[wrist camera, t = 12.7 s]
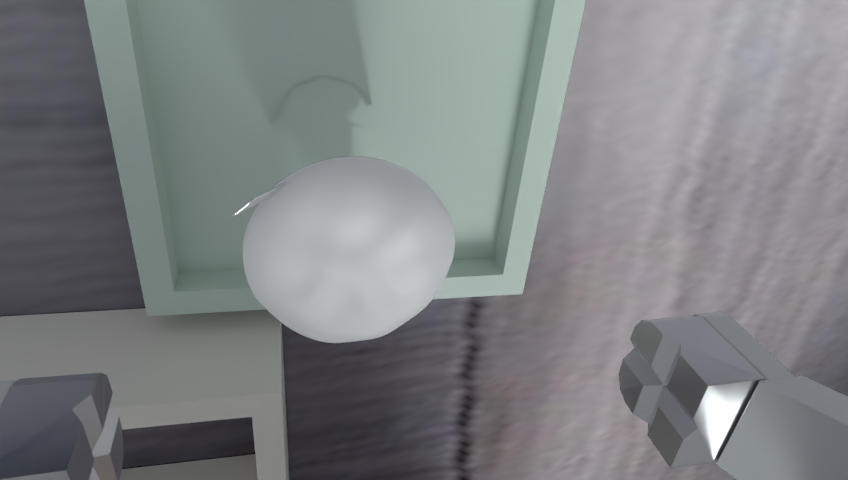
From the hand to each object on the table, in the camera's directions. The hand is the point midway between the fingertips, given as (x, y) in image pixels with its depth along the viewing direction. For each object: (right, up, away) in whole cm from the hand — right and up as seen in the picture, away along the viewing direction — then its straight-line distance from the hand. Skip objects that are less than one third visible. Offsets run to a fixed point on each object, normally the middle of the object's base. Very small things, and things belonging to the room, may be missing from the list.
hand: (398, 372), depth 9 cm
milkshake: (-3, +6, +10) cm, 12 cm away
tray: (-2, +7, +11) cm, 13 cm away
